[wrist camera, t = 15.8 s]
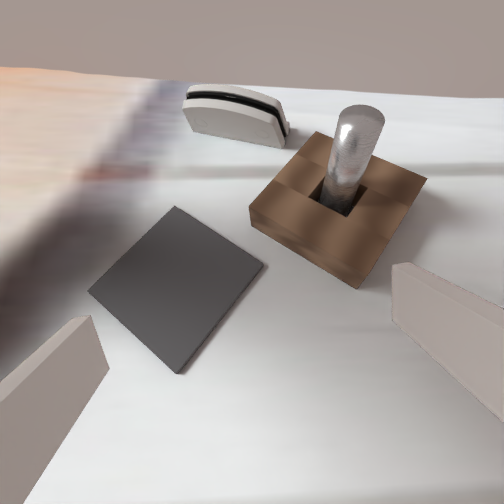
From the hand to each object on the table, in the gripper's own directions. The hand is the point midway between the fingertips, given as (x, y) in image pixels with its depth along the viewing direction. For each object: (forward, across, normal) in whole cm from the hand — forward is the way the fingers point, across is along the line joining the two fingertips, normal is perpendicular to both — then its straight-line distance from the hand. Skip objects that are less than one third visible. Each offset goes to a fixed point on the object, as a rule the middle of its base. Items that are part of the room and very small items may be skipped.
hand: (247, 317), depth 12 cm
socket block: (+27, +13, -1) cm, 30 cm away
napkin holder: (+40, +2, +12) cm, 42 cm away
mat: (+23, -9, -6) cm, 25 cm away
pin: (+27, +13, -1) cm, 30 cm away
